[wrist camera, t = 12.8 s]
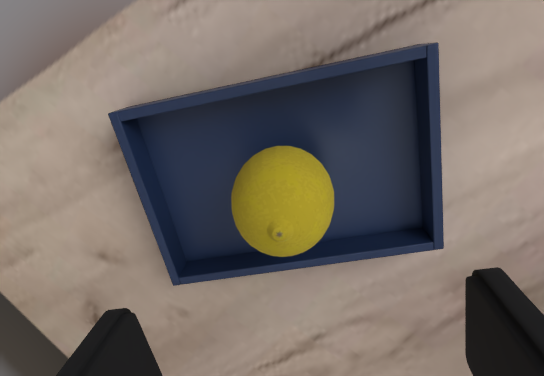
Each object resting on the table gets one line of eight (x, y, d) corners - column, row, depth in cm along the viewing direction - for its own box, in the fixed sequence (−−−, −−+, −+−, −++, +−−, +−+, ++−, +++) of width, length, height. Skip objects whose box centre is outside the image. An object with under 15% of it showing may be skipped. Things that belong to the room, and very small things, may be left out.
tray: (420, 43, 19) (438, 42, 17) (428, 229, 24) (444, 249, 21) (128, 106, 22) (107, 113, 19) (184, 264, 26) (173, 286, 24)
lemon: (297, 114, 21) (300, 149, 13) (342, 186, 22) (367, 253, 15) (225, 161, 22) (191, 216, 15) (272, 225, 23) (263, 304, 16)
